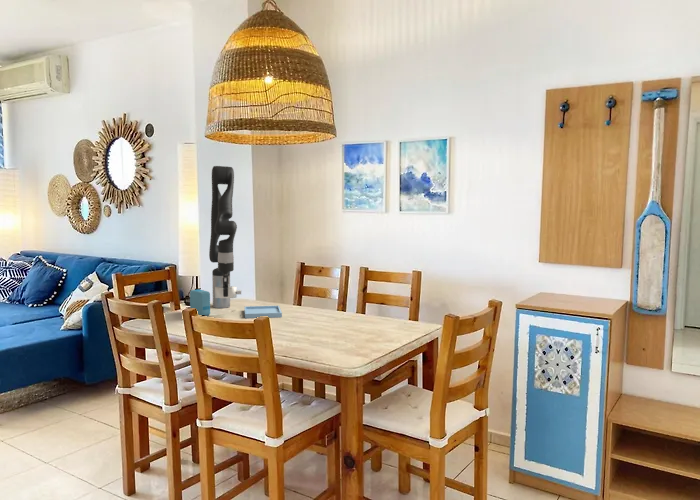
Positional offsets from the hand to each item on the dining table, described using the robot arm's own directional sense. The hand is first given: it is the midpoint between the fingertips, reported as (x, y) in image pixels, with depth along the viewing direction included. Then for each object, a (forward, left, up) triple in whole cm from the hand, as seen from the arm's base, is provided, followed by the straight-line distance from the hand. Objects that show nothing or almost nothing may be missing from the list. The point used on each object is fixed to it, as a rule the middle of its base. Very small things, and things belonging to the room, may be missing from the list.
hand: (225, 295), depth 268 cm
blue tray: (-4, +18, -11) cm, 21 cm away
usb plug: (0, +1, -1) cm, 2 cm away
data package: (-7, -13, -11) cm, 18 cm away
